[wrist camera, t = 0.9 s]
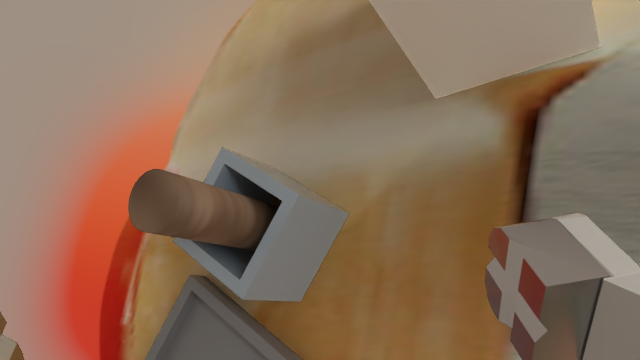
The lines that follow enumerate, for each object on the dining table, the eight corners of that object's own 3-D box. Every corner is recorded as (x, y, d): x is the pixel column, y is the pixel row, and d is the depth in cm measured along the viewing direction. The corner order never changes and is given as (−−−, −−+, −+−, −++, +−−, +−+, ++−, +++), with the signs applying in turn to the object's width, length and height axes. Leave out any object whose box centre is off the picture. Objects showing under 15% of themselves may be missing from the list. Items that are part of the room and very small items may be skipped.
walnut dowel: (284, 202, 47) (148, 158, 34) (316, 224, 45) (185, 186, 32) (263, 241, 48) (119, 213, 34) (294, 264, 45) (154, 244, 32)
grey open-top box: (278, 170, 48) (222, 147, 42) (349, 213, 44) (298, 195, 37) (235, 251, 49) (172, 240, 42) (300, 301, 44) (242, 299, 38)
